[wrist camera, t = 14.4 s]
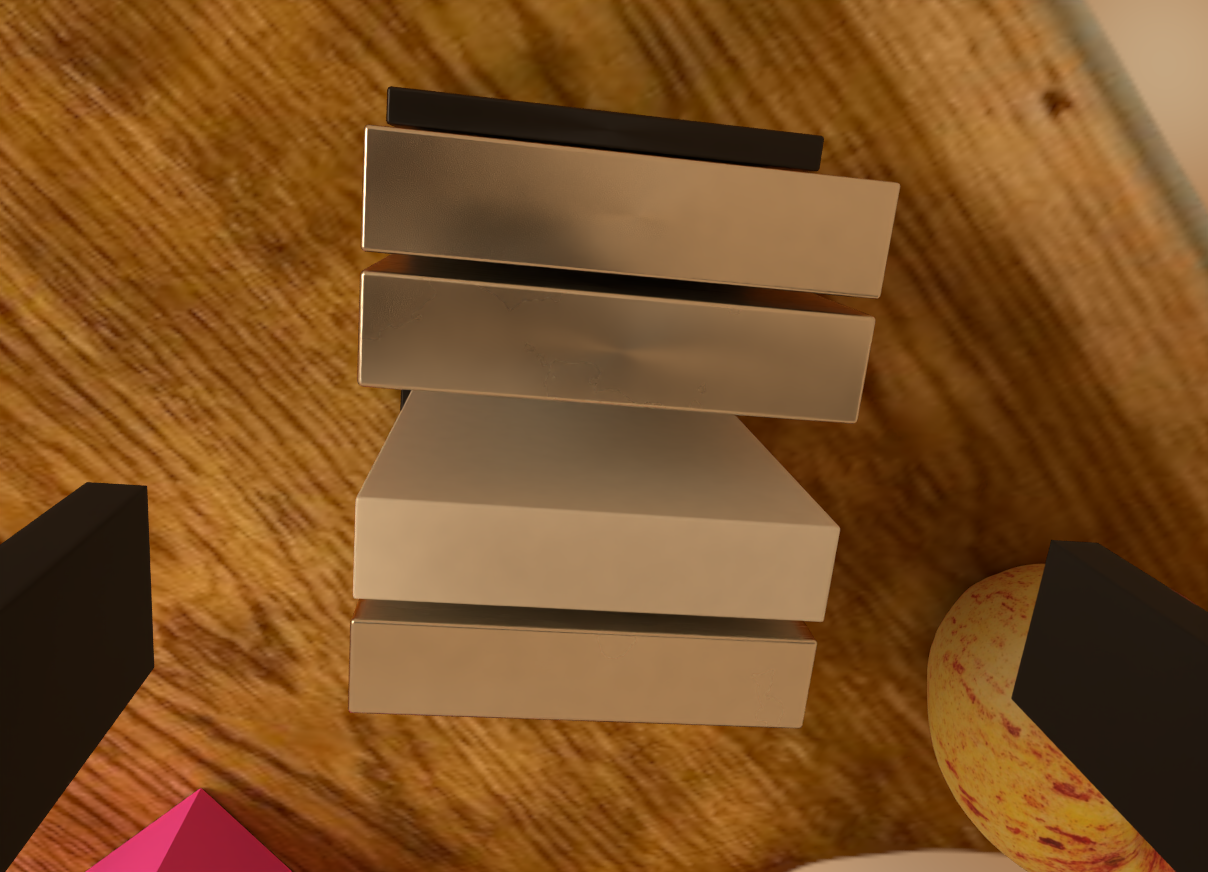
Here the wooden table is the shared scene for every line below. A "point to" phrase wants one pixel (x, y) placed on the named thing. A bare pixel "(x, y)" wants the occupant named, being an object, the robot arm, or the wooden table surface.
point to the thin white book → (587, 512)
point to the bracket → (192, 843)
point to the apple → (1016, 743)
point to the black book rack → (605, 364)
